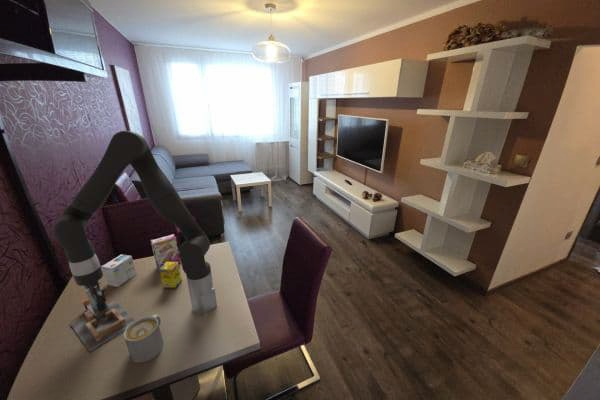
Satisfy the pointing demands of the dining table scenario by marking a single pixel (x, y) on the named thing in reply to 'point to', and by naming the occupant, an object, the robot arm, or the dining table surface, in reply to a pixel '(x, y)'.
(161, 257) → the candy bar box
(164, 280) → the supplement box
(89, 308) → the pin
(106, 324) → the dock
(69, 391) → the dining table surface
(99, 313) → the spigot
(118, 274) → the light bulb box
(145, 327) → the coffee mug
